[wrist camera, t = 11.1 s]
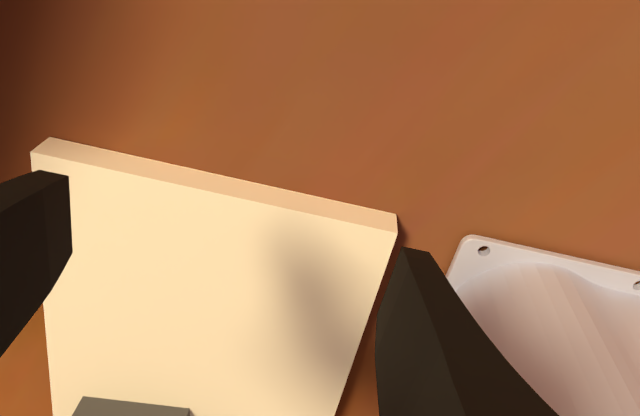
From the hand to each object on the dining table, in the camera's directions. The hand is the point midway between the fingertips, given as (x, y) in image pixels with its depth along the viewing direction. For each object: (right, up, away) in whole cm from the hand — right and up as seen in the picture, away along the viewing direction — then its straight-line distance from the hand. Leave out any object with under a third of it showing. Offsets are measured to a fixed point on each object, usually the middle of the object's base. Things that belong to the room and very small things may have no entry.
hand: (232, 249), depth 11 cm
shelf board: (-5, -8, +17) cm, 19 cm away
